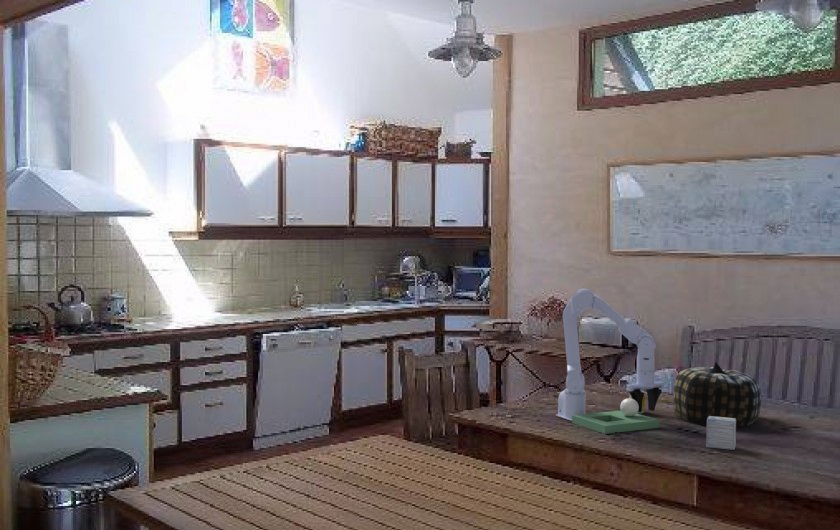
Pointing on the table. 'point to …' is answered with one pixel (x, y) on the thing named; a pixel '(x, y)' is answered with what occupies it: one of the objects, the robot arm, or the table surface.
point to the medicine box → (721, 432)
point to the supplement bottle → (642, 402)
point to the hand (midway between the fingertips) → (645, 410)
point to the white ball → (629, 407)
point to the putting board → (614, 422)
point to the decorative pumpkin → (716, 395)
